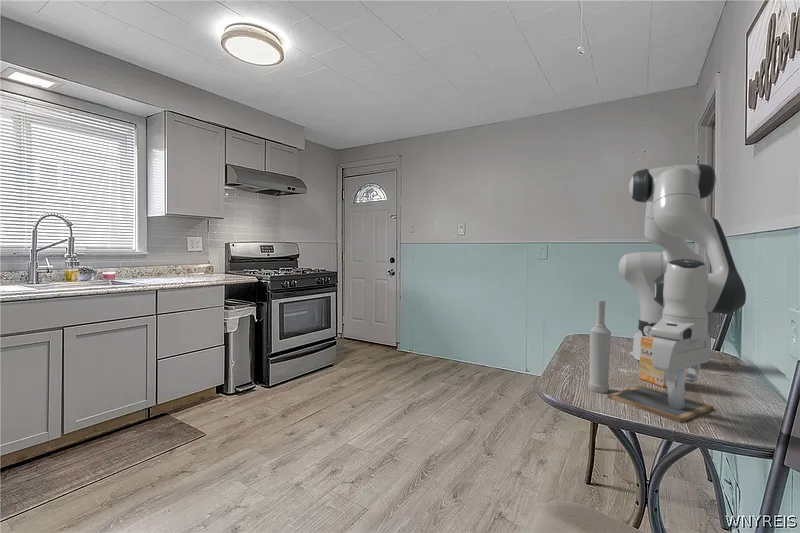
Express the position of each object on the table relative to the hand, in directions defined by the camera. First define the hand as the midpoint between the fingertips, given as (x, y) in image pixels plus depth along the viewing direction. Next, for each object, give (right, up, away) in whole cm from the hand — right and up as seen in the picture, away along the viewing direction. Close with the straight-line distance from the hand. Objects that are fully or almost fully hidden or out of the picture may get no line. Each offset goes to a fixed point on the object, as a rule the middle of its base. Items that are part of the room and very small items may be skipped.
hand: (681, 384), depth 93 cm
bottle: (-13, -6, +15) cm, 20 cm away
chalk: (-1, -6, +1) cm, 6 cm away
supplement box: (+8, -6, +22) cm, 24 cm away
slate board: (-2, -6, +5) cm, 9 cm away
